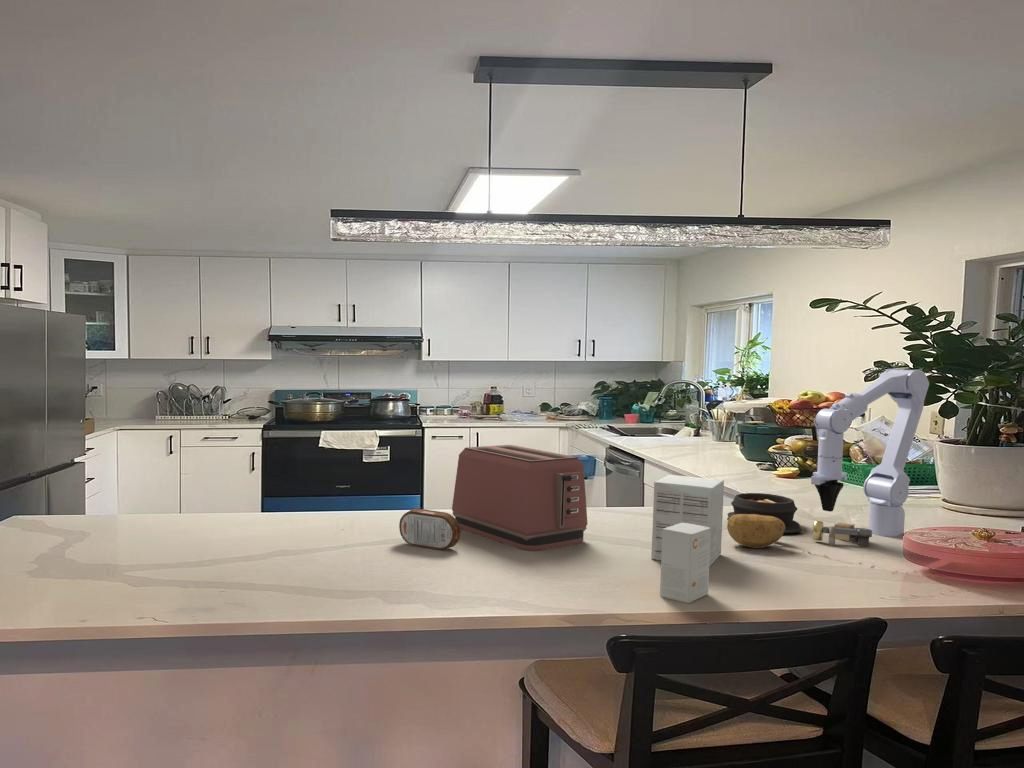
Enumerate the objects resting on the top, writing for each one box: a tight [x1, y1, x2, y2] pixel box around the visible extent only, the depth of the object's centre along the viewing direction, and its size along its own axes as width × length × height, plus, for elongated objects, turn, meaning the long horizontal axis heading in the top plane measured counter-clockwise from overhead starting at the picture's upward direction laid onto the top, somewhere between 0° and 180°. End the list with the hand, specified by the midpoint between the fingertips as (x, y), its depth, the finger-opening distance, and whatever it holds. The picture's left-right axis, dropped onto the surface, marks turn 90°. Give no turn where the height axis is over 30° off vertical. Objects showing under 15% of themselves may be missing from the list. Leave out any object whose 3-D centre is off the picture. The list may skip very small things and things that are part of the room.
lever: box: [812, 520, 873, 542], centre depth 193 cm, size 7×13×4 cm, turn 79°
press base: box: [828, 525, 870, 548], centre depth 194 cm, size 16×20×6 cm
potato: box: [726, 514, 785, 549], centre depth 190 cm, size 10×14×8 cm
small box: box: [659, 523, 711, 604], centre depth 150 cm, size 8×6×13 cm
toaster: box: [451, 444, 588, 552], centre depth 196 cm, size 19×34×20 cm, turn 38°
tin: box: [398, 507, 461, 551], centre depth 180 cm, size 15×3×8 cm, turn 65°
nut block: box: [833, 522, 856, 542], centre depth 197 cm, size 4×4×4 cm
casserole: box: [726, 492, 803, 534], centre depth 211 cm, size 25×19×8 cm
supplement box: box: [650, 474, 725, 568], centre depth 178 cm, size 13×13×18 cm
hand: (827, 510), depth 198 cm, fingers closed
